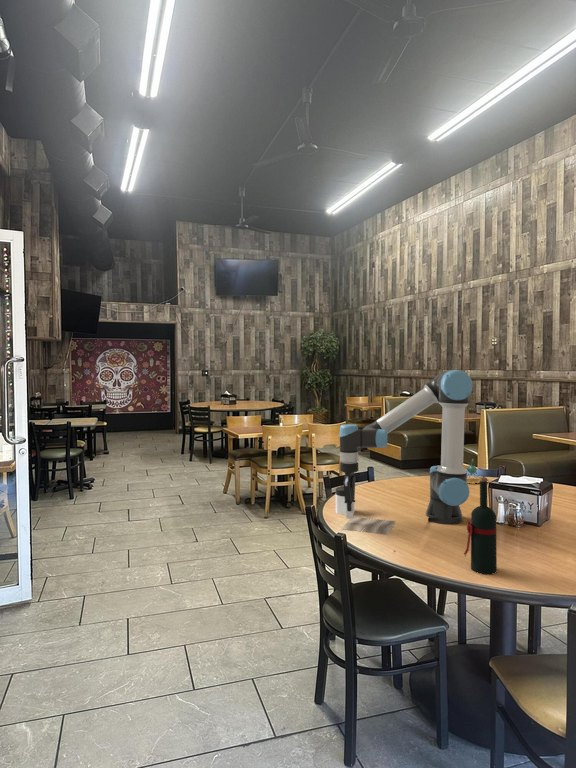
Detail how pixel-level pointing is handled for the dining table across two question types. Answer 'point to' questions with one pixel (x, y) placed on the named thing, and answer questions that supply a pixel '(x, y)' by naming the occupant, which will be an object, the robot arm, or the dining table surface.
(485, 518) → the wine bottle
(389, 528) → the grey flat panel
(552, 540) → the dining table surface
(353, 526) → the plank
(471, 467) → the frog figurine
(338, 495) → the jar
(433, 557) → the dining table surface
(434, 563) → the dining table surface
